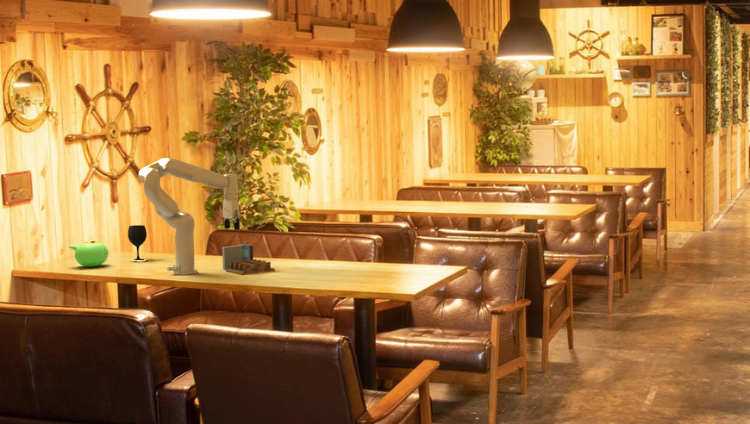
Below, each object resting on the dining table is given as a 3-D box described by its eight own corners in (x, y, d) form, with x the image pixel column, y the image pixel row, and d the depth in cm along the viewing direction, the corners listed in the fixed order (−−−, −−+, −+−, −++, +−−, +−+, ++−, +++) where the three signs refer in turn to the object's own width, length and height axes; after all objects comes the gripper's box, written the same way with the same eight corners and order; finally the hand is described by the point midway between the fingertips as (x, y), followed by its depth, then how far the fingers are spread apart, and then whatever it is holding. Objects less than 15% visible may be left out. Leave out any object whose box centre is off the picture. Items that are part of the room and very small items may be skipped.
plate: (224, 270, 503) (224, 247, 502) (222, 269, 505) (222, 247, 504) (242, 267, 510) (242, 245, 509) (240, 267, 512) (240, 245, 511)
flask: (237, 260, 539) (237, 241, 538) (240, 259, 542) (240, 241, 541) (251, 261, 535) (251, 242, 534) (254, 260, 538) (254, 241, 537)
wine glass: (127, 260, 545) (125, 225, 544) (145, 259, 550) (144, 224, 548) (130, 262, 536) (129, 227, 534) (149, 261, 540) (148, 226, 539)
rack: (241, 274, 486) (241, 265, 485) (225, 271, 498) (225, 262, 497) (274, 270, 498) (274, 261, 498) (258, 267, 511) (257, 258, 510)
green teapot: (87, 269, 510) (86, 242, 509) (68, 267, 521) (67, 240, 519) (114, 265, 525) (113, 239, 523) (95, 263, 535) (94, 237, 534)
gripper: (216, 196, 508) (217, 228, 510) (233, 198, 495) (234, 230, 497) (228, 195, 513) (229, 227, 515) (245, 197, 500) (246, 229, 501)
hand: (232, 229), depth 506 cm, fingers open, 9 cm apart
